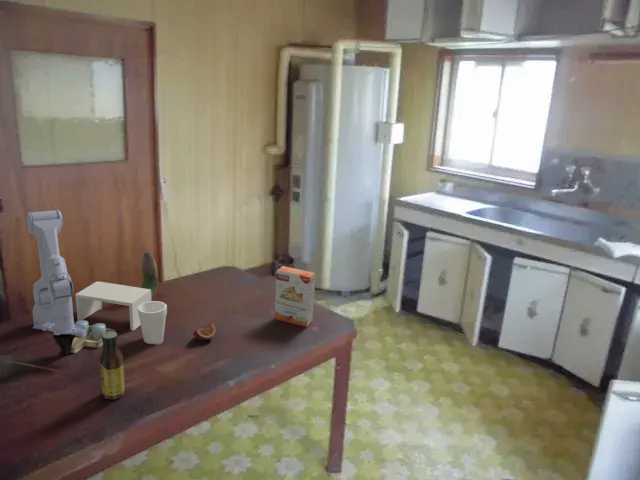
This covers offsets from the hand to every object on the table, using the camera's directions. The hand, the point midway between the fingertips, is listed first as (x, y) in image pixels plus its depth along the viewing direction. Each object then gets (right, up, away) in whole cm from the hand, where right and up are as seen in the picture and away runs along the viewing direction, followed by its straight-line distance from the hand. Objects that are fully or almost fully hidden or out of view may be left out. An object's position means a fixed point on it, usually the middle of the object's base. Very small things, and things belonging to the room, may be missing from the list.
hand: (66, 352), depth 172 cm
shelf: (+6, +7, +26) cm, 28 cm away
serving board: (+2, +2, +9) cm, 9 cm away
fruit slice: (+41, +1, +17) cm, 44 cm away
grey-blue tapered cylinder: (+6, +3, +11) cm, 13 cm away
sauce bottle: (+22, -9, -18) cm, 30 cm away
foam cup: (+24, +1, +13) cm, 27 cm away
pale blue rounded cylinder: (-1, +4, +13) cm, 13 cm away
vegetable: (+12, +13, +46) cm, 50 cm away
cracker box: (+72, +5, +34) cm, 80 cm away
